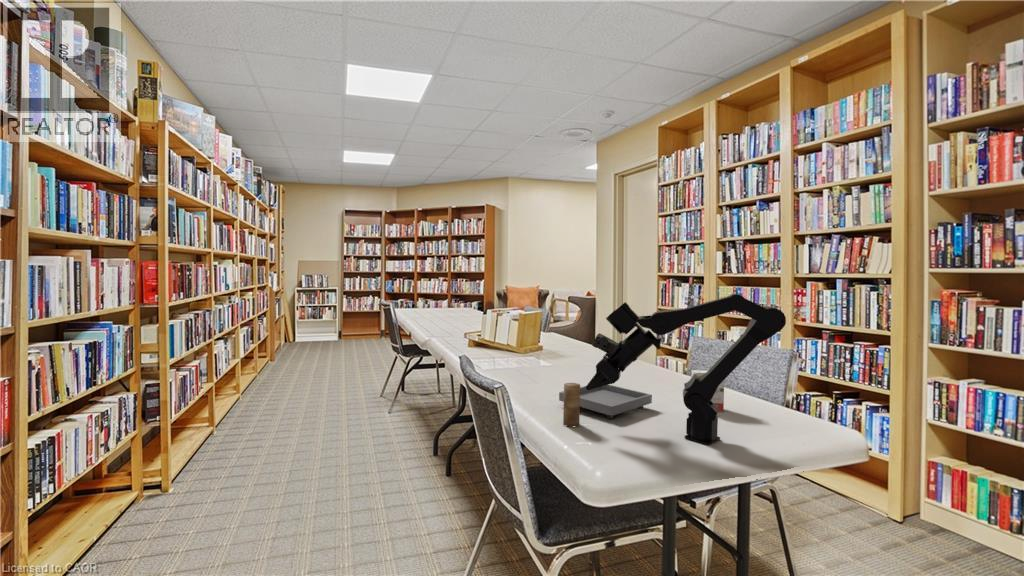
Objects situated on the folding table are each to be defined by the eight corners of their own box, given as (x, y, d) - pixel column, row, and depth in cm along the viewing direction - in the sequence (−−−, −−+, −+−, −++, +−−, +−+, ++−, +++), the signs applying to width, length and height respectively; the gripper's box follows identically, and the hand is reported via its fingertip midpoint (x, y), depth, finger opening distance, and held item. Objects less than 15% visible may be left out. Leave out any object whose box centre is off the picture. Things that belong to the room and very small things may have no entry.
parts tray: (651, 408, 148) (651, 394, 148) (611, 422, 135) (611, 406, 134) (599, 395, 163) (599, 382, 163) (559, 406, 150) (559, 392, 149)
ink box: (718, 407, 150) (719, 370, 150) (723, 412, 145) (725, 373, 145) (689, 406, 151) (690, 369, 150) (694, 411, 146) (695, 372, 146)
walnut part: (582, 424, 132) (583, 385, 132) (572, 428, 129) (572, 387, 129) (570, 420, 136) (571, 382, 135) (559, 423, 133) (560, 384, 132)
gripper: (615, 320, 137) (576, 356, 141) (606, 328, 119) (561, 369, 123) (643, 350, 135) (602, 385, 139) (638, 362, 117) (591, 402, 121)
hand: (589, 384), depth 130 cm, fingers open, 9 cm apart
